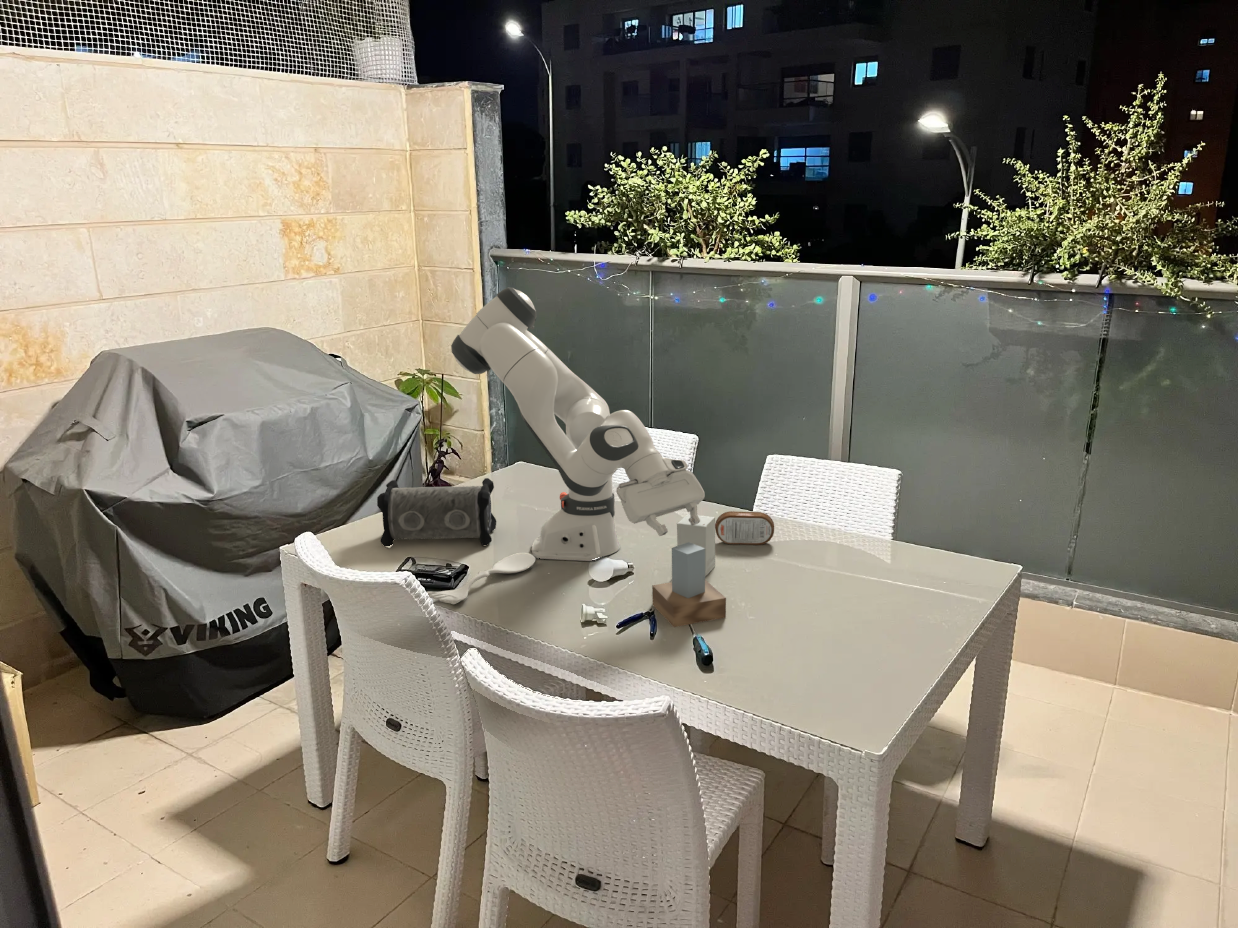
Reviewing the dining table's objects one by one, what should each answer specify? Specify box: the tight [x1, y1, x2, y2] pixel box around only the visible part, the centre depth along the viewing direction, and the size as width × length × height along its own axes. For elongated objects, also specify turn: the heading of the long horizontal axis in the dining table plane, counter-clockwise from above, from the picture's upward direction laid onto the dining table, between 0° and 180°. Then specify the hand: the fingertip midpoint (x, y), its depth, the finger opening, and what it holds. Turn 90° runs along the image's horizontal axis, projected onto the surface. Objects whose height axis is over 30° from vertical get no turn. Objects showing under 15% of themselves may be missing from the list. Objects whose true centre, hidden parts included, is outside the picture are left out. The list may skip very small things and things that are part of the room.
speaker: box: [376, 477, 497, 547], centre depth 250 cm, size 15×29×15 cm, turn 91°
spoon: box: [426, 552, 536, 605], centre depth 222 cm, size 9×32×3 cm, turn 147°
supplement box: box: [676, 513, 716, 577], centre depth 227 cm, size 7×7×13 cm
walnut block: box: [651, 579, 727, 628], centre depth 206 cm, size 12×12×5 cm
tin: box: [715, 510, 775, 546], centre depth 243 cm, size 15×3×8 cm, turn 84°
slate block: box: [671, 542, 706, 598], centre depth 204 cm, size 5×5×10 cm
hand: (680, 528), depth 205 cm, fingers open, 8 cm apart
